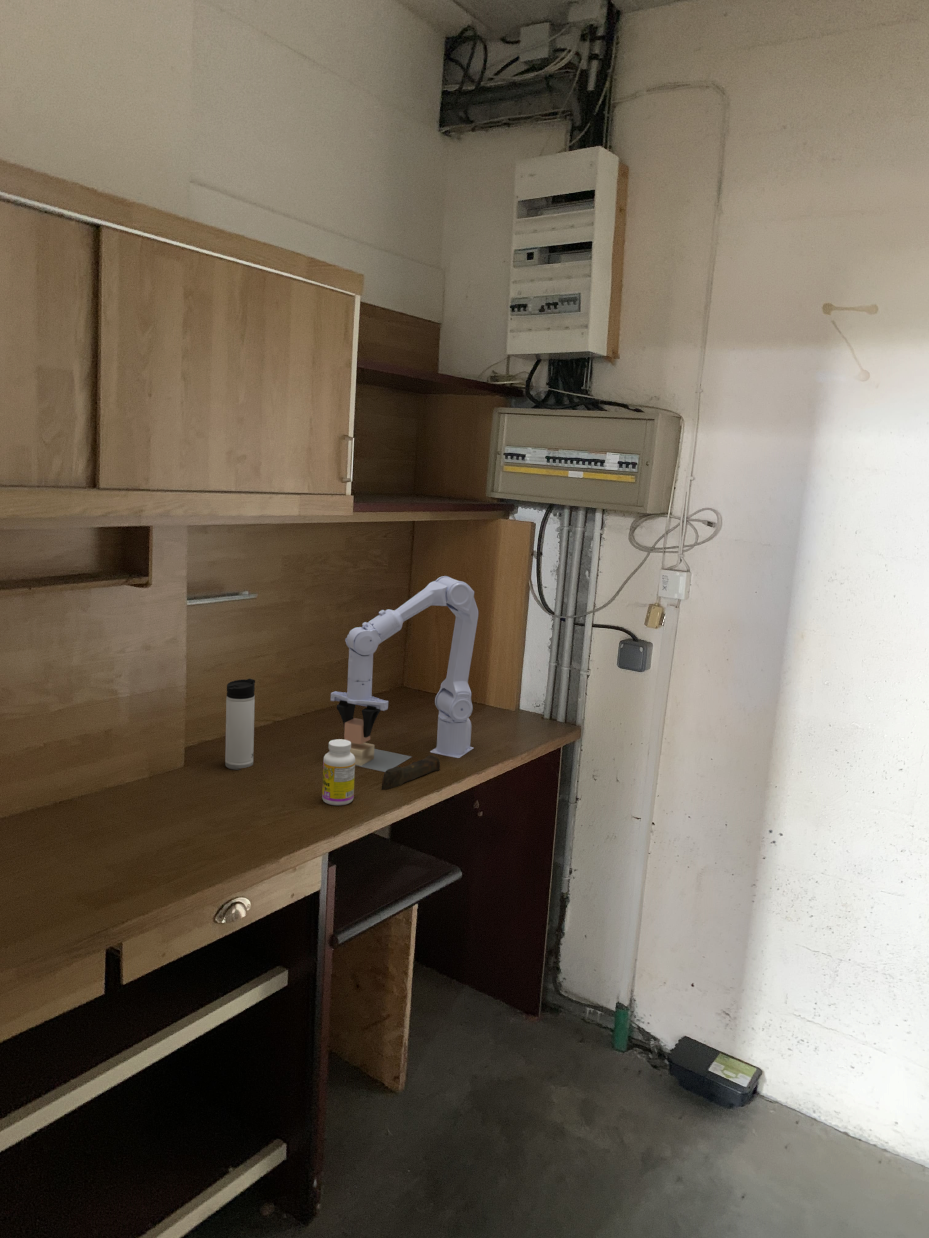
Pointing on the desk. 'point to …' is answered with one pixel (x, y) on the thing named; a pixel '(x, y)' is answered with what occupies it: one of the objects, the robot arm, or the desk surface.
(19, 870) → the desk surface
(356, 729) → the terracotta cube
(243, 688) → the travel mug
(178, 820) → the desk surface
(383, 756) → the rubber mat
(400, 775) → the hand tool
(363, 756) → the beech block
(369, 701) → the robot arm
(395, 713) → the desk surface
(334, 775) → the supplement bottle
